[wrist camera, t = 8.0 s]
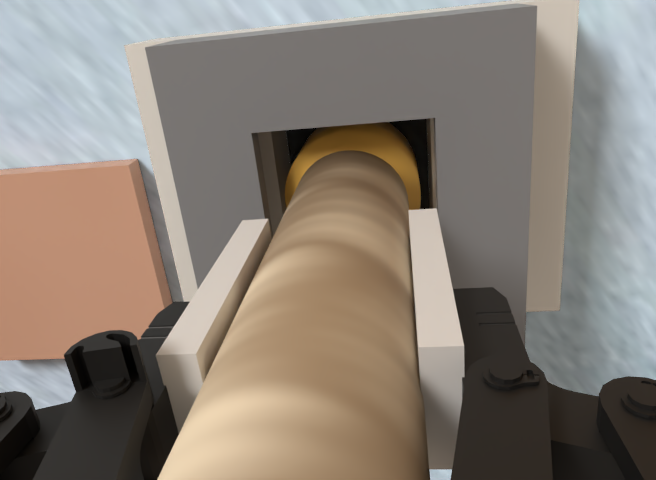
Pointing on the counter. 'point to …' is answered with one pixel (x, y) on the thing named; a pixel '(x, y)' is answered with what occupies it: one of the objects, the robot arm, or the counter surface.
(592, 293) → the counter surface
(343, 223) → the wooden cylinder
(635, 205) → the counter surface
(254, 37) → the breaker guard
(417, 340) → the robot arm
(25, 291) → the rest tile
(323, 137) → the button
